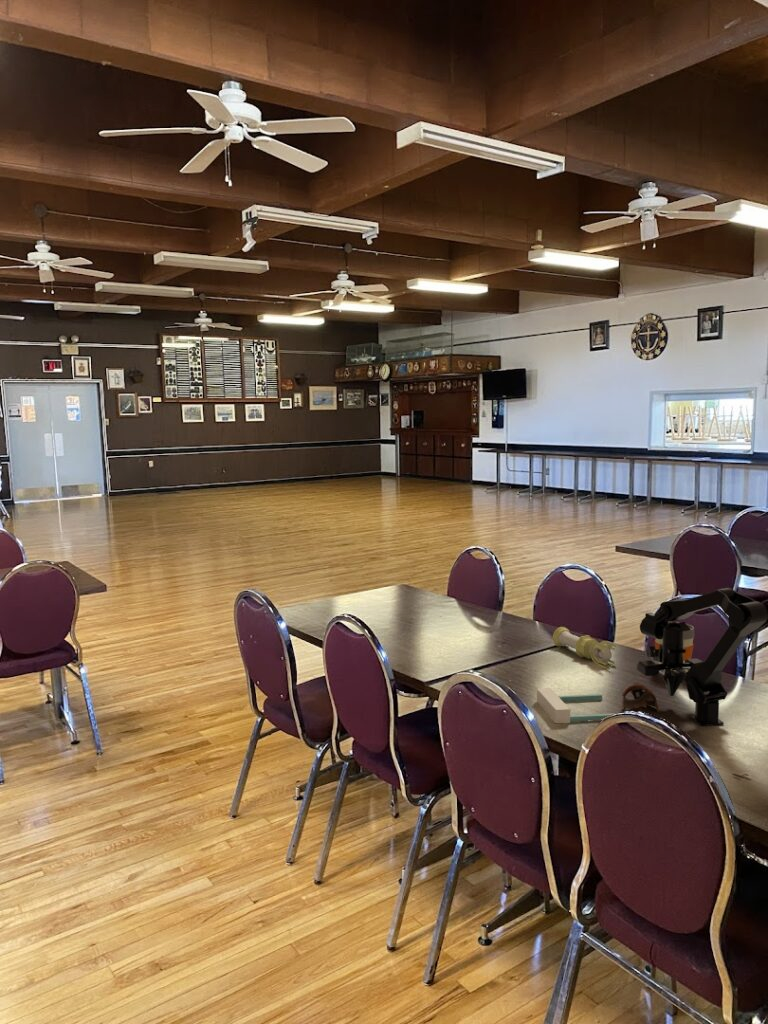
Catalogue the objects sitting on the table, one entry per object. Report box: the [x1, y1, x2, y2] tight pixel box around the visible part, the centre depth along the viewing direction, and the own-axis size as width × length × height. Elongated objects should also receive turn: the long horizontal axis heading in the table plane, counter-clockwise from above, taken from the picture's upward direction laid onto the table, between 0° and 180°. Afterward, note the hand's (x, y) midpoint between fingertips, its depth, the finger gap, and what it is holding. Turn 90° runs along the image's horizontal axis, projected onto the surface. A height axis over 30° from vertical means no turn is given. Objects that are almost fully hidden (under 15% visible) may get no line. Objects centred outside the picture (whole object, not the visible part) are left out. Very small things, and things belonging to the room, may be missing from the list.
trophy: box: [552, 626, 617, 670], centre depth 261 cm, size 8×8×30 cm
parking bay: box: [536, 687, 615, 724], centre depth 211 cm, size 17×20×4 cm
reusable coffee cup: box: [654, 621, 696, 672], centre depth 244 cm, size 13×13×15 cm
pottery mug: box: [621, 682, 660, 712], centre depth 212 cm, size 12×10×8 cm
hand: (671, 695), depth 213 cm, fingers closed
